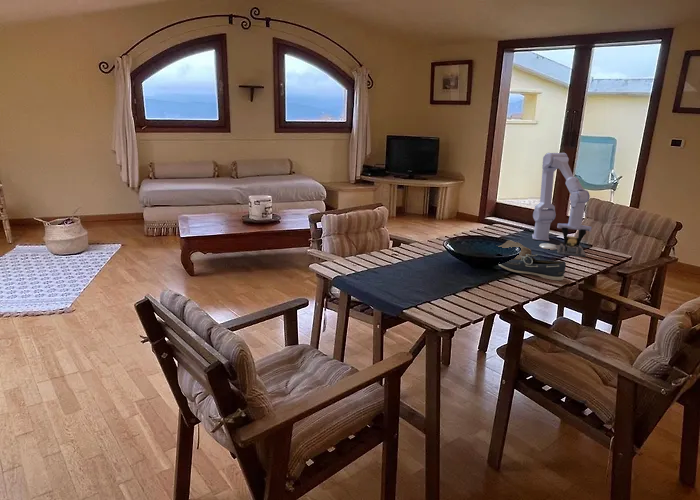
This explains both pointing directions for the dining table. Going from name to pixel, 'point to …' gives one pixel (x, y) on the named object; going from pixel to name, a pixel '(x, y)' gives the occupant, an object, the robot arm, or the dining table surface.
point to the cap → (571, 241)
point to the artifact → (516, 244)
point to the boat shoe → (536, 267)
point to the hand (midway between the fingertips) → (571, 244)
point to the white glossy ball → (548, 246)
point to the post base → (570, 250)
